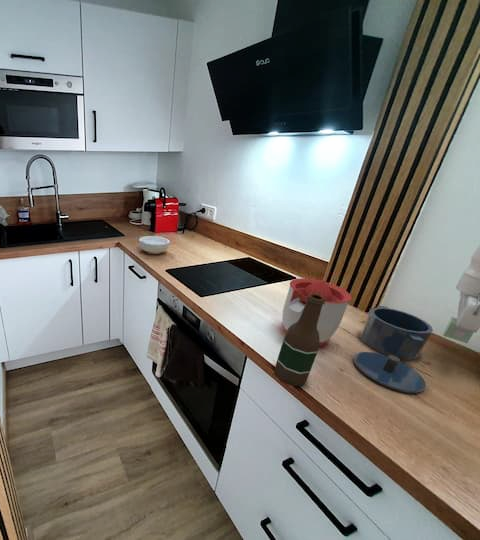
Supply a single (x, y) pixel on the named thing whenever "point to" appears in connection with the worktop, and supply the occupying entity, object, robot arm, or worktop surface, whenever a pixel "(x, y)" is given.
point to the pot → (395, 333)
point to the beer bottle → (300, 345)
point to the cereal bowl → (154, 244)
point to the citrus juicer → (329, 312)
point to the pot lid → (389, 372)
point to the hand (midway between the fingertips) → (458, 331)
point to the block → (452, 327)
